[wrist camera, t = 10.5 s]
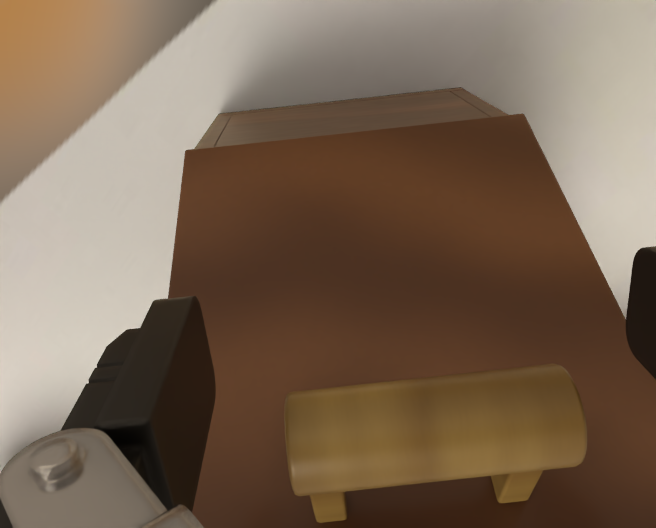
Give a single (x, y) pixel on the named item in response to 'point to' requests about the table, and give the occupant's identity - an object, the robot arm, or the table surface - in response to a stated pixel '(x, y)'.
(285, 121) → the chest
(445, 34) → the table surface
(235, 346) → the lid
